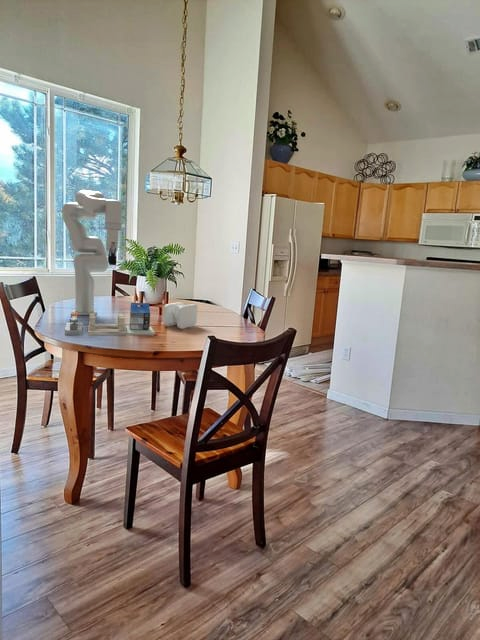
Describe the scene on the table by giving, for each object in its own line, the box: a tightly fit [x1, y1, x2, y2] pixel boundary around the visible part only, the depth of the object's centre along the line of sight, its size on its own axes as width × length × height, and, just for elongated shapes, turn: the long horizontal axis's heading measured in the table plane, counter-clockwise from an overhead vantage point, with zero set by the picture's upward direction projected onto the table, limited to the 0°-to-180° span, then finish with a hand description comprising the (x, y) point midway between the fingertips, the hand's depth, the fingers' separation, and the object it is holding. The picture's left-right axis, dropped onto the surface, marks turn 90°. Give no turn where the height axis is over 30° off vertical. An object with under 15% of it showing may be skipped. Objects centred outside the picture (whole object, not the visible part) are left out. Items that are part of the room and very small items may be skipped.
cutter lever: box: [69, 311, 80, 324], centre depth 203 cm, size 15×3×4 cm, turn 18°
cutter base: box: [64, 322, 84, 336], centre depth 202 cm, size 15×7×4 cm, turn 18°
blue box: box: [129, 302, 151, 330], centre depth 210 cm, size 9×4×12 cm, turn 108°
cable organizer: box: [162, 301, 198, 330], centre depth 227 cm, size 15×11×12 cm
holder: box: [87, 314, 127, 336], centre depth 206 cm, size 16×16×7 cm
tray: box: [125, 325, 156, 336], centre depth 211 cm, size 14×12×1 cm
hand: (112, 263), depth 214 cm, fingers open, 9 cm apart
